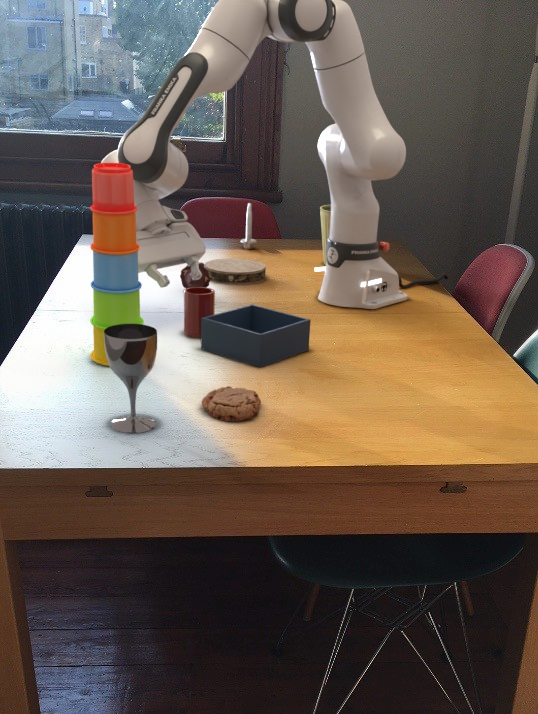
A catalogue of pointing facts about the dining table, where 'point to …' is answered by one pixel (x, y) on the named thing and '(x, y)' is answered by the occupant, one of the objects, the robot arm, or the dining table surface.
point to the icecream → (189, 282)
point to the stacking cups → (113, 253)
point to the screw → (248, 229)
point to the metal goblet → (131, 367)
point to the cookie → (231, 403)
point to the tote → (255, 335)
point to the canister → (197, 309)
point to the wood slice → (235, 271)
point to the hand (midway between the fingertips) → (182, 281)
